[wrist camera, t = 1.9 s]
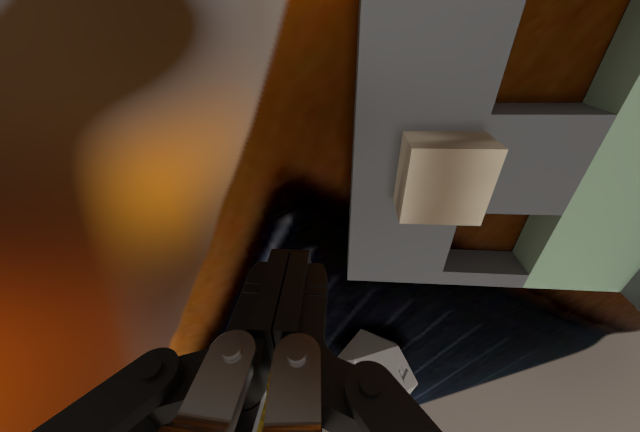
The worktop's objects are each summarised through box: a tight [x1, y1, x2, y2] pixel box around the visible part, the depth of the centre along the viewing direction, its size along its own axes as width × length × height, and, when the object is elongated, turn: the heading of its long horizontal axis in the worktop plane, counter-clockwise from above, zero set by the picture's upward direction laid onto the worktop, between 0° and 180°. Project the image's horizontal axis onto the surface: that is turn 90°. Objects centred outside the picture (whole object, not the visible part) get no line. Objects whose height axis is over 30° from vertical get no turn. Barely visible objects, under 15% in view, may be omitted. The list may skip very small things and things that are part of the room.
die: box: [338, 329, 418, 394], centre depth 33 cm, size 8×9×10 cm
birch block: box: [393, 131, 509, 226], centre depth 18 cm, size 5×5×3 cm
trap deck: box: [348, 0, 640, 311], centre depth 19 cm, size 24×22×6 cm
